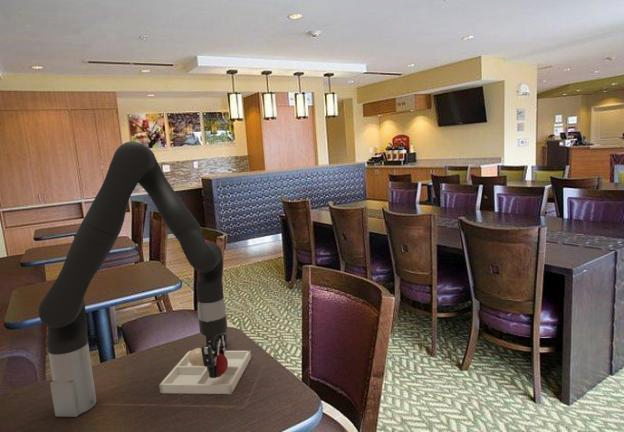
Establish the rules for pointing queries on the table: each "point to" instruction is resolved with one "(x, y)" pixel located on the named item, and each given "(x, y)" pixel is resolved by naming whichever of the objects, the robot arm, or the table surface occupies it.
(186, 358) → the tray
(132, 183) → the robot arm
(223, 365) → the onion
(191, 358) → the beige ball
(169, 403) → the table surface
